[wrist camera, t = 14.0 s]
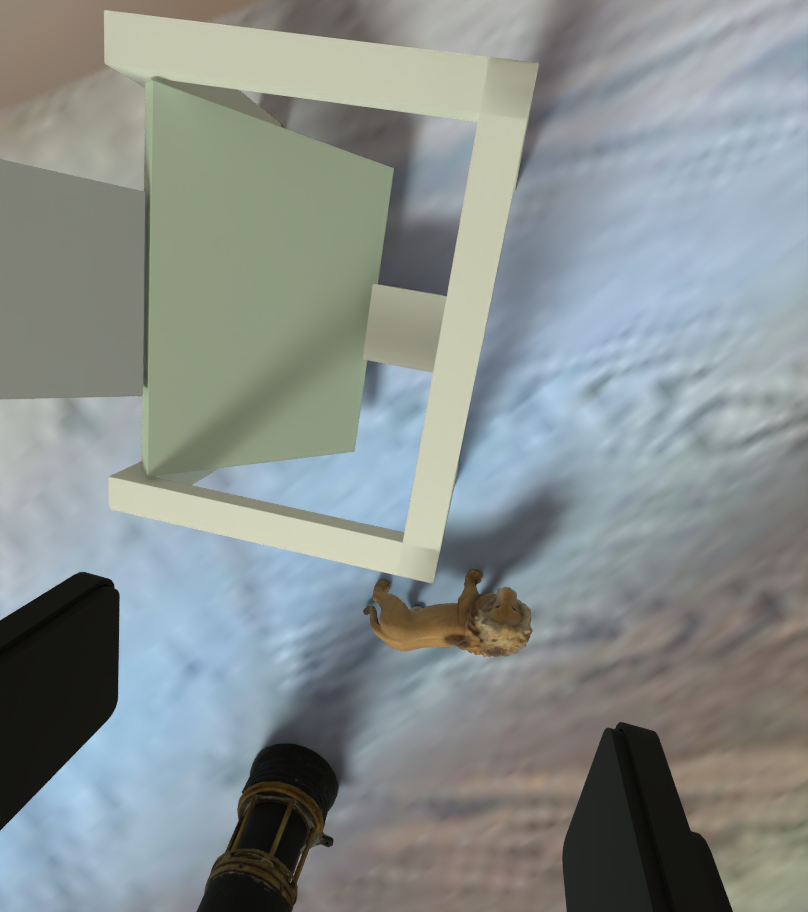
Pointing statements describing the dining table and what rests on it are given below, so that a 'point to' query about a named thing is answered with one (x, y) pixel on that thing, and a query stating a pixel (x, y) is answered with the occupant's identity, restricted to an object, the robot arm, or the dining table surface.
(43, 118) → the dining table surface
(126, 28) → the trapdoor frame
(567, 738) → the dining table surface
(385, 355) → the stone block
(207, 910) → the lantern
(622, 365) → the dining table surface
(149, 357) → the trapdoor plate
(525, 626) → the lion figurine
